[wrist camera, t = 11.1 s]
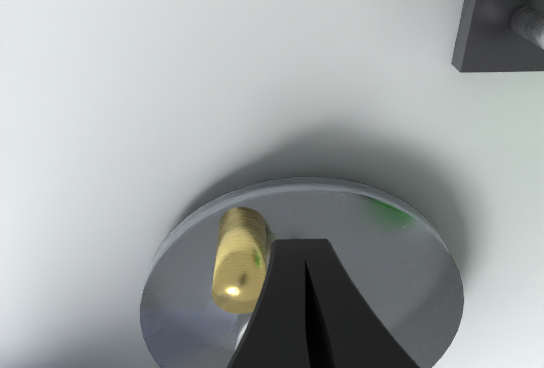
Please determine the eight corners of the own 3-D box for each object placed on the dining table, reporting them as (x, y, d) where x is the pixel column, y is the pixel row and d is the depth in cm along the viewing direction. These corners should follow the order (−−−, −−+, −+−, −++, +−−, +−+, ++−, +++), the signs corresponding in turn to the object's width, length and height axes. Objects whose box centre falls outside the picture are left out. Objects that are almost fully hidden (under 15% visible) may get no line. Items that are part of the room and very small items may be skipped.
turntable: (305, 427, 32) (313, 520, 27) (86, 319, 26) (49, 415, 21) (515, 291, 25) (572, 383, 21) (291, 106, 19) (302, 179, 15)
